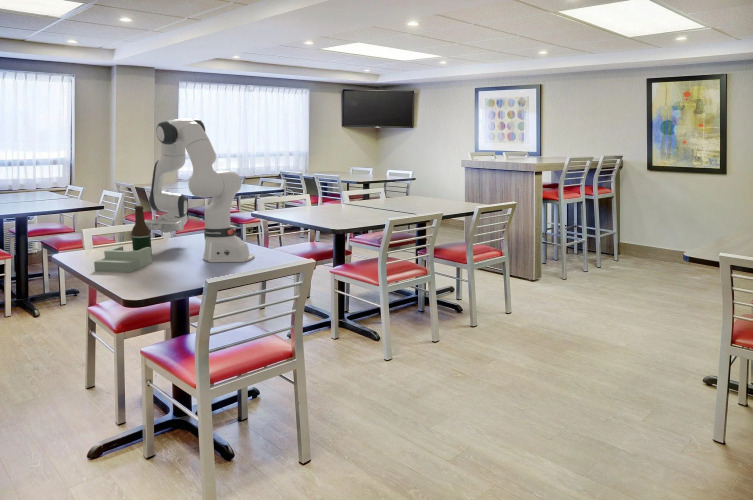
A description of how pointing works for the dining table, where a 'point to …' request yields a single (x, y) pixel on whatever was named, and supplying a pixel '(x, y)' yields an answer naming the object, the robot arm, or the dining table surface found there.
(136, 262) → the block
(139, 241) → the beer bottle
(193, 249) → the dining table surface
